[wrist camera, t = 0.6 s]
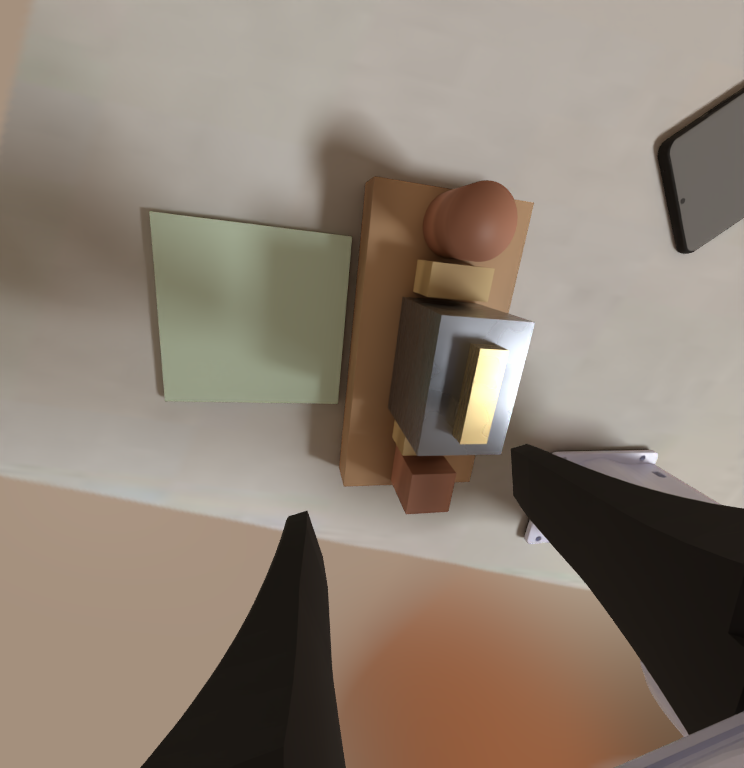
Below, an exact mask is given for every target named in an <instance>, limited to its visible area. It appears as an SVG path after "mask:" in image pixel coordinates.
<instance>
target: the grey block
mask: <svg viewBox="0 0 744 768" xmlns="http://www.w3.org/2000/svg"><path fill="white" fill-rule="evenodd" d="M534 324H535V322H532V321H529V320H526V319H523V318H520V317H517V316H514V315H511V314H508V313H505V312H502V311H499V310H496V309H492V308H489V307H486V306H483V305H480V304H477V303H469V302H458V301H447V300H435V299H424V298H413V297H403V298H402V305H401V313H400V320H399V328H398V335H397V342H396V350H395V357H394V365H393V372H392V379H391V387H390V394H389V402H388V409H389V411H390V412H391V414H392V416H393V417H394V419H395V421H396V422H397V424H398V425H399V427H400V429H401V430H402V432H403V434H404V435H405V437H406V438H407V440H408V442H409V443H410V445H411V446H412V448H413V450H414V451H415V453H416V455H417V456H444V455H497V454H501V452H502V449H503V445H504V441H505V437H506V433H507V429H508V425H509V421H510V418H511V414H512V410H513V406H514V402H515V398H516V394H517V390H518V387H519V383H520V379H521V375H522V371H523V367H524V363H525V359H526V355H527V352H528V348H529V344H530V340H531V336H532V332H533V328H534Z"/></svg>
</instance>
